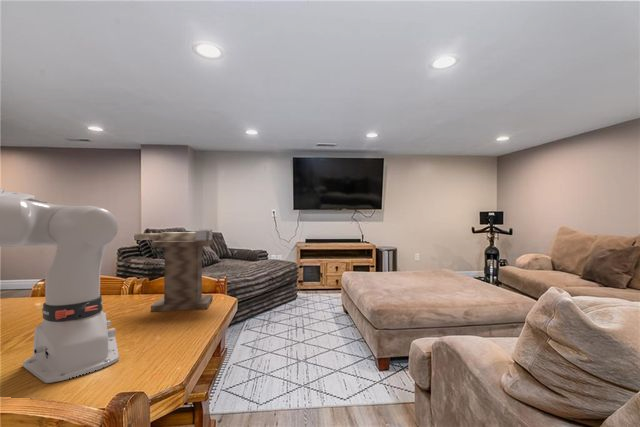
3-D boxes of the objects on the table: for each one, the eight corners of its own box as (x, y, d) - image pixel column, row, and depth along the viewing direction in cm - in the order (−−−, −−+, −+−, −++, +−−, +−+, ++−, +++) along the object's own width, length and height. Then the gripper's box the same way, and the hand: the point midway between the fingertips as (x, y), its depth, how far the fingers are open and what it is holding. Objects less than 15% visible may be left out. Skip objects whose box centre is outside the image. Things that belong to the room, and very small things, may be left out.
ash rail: (133, 241, 112) (133, 233, 112) (137, 240, 116) (138, 232, 116) (204, 240, 117) (204, 232, 117) (206, 239, 121) (206, 232, 121)
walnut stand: (150, 311, 109) (151, 241, 109) (161, 301, 121) (162, 238, 121) (207, 308, 113) (207, 241, 113) (212, 299, 125) (213, 238, 125)
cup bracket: (195, 240, 114) (195, 230, 114) (199, 239, 122) (199, 229, 122) (208, 240, 115) (208, 230, 115) (212, 239, 123) (212, 229, 123)
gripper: (-3, 202, 103) (49, 211, 110) (-32, 209, 86) (31, 219, 93) (2, 185, 103) (53, 195, 110) (-27, 188, 86) (36, 200, 93)
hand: (43, 206), depth 101 cm, fingers open, 8 cm apart
